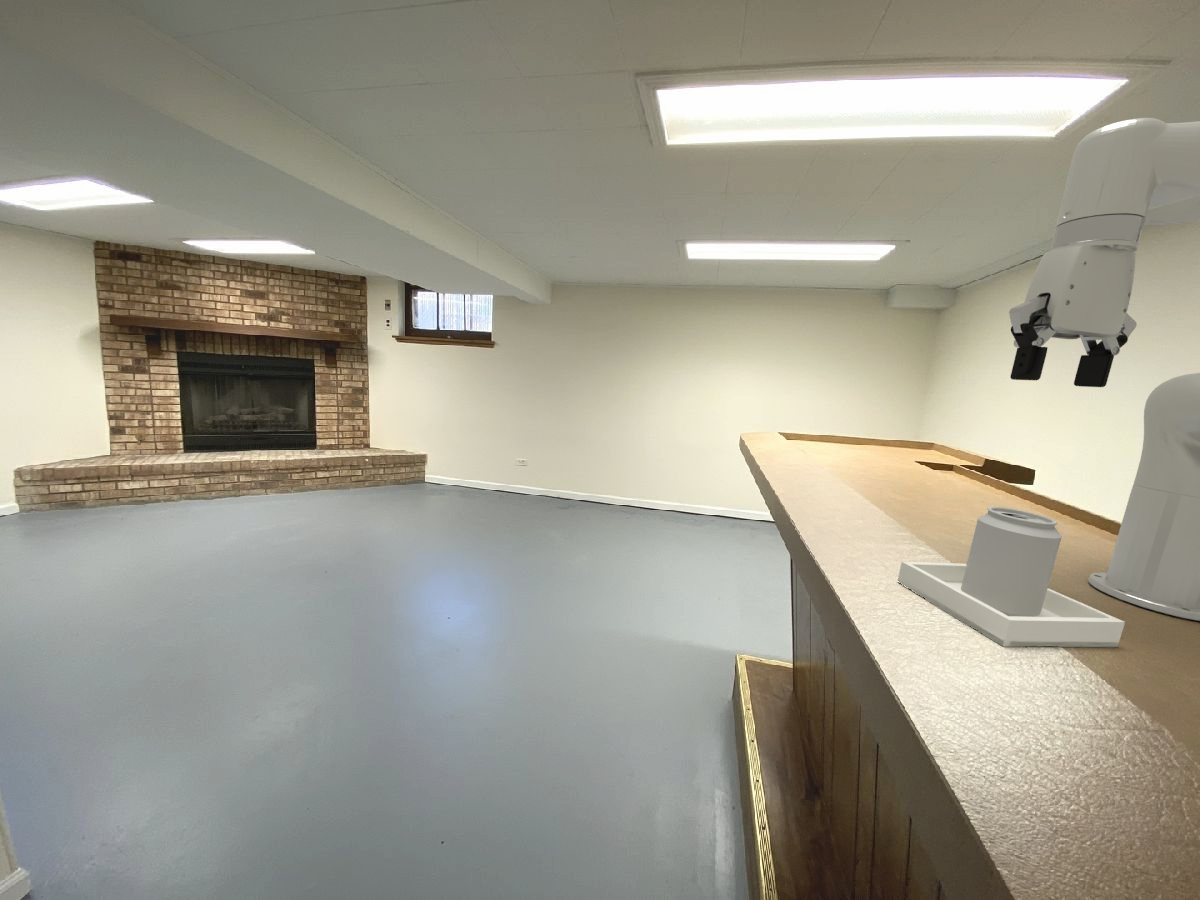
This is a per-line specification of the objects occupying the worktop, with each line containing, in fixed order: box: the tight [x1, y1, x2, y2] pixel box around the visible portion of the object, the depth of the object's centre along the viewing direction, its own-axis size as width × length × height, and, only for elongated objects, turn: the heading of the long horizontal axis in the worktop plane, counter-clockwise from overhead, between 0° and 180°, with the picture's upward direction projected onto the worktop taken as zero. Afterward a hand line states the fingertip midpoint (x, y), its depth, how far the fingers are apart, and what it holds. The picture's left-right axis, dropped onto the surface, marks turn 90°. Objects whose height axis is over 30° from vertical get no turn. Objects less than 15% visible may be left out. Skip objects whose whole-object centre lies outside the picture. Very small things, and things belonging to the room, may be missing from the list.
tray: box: [897, 561, 1126, 648], centre depth 56 cm, size 15×15×3 cm
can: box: [961, 506, 1063, 617], centre depth 55 cm, size 8×8×12 cm
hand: (1056, 383), depth 59 cm, fingers open, 9 cm apart
